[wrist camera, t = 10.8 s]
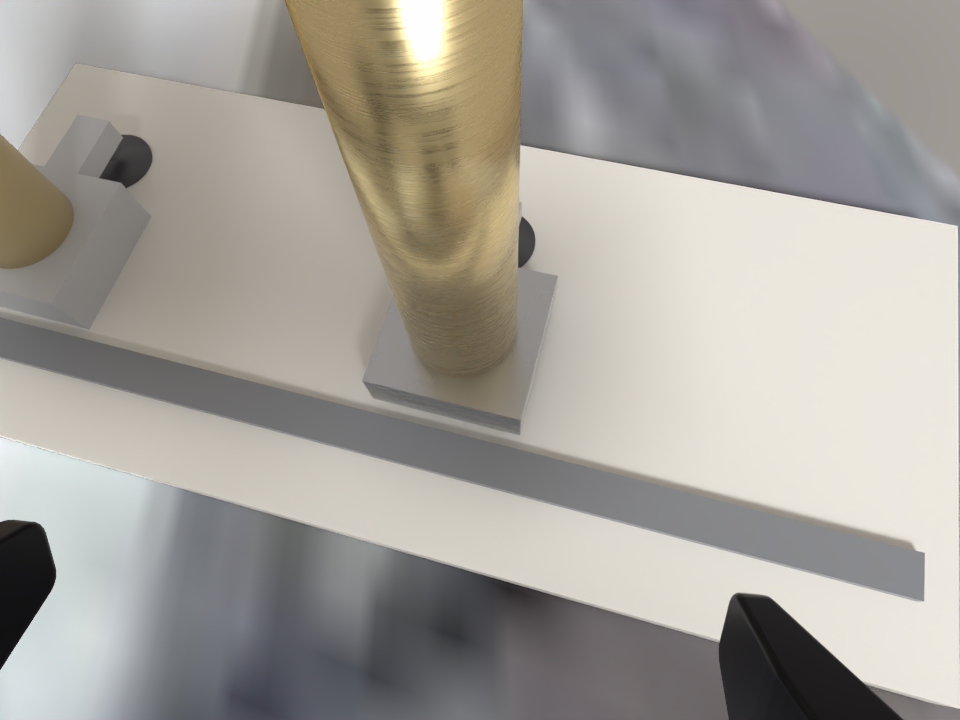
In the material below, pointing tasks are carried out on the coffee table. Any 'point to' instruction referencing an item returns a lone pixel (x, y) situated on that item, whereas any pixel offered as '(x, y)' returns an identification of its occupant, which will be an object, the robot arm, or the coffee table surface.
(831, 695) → the robot arm
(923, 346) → the plate
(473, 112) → the leg
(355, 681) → the coffee table surface
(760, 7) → the coffee table surface
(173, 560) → the coffee table surface
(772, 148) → the coffee table surface
